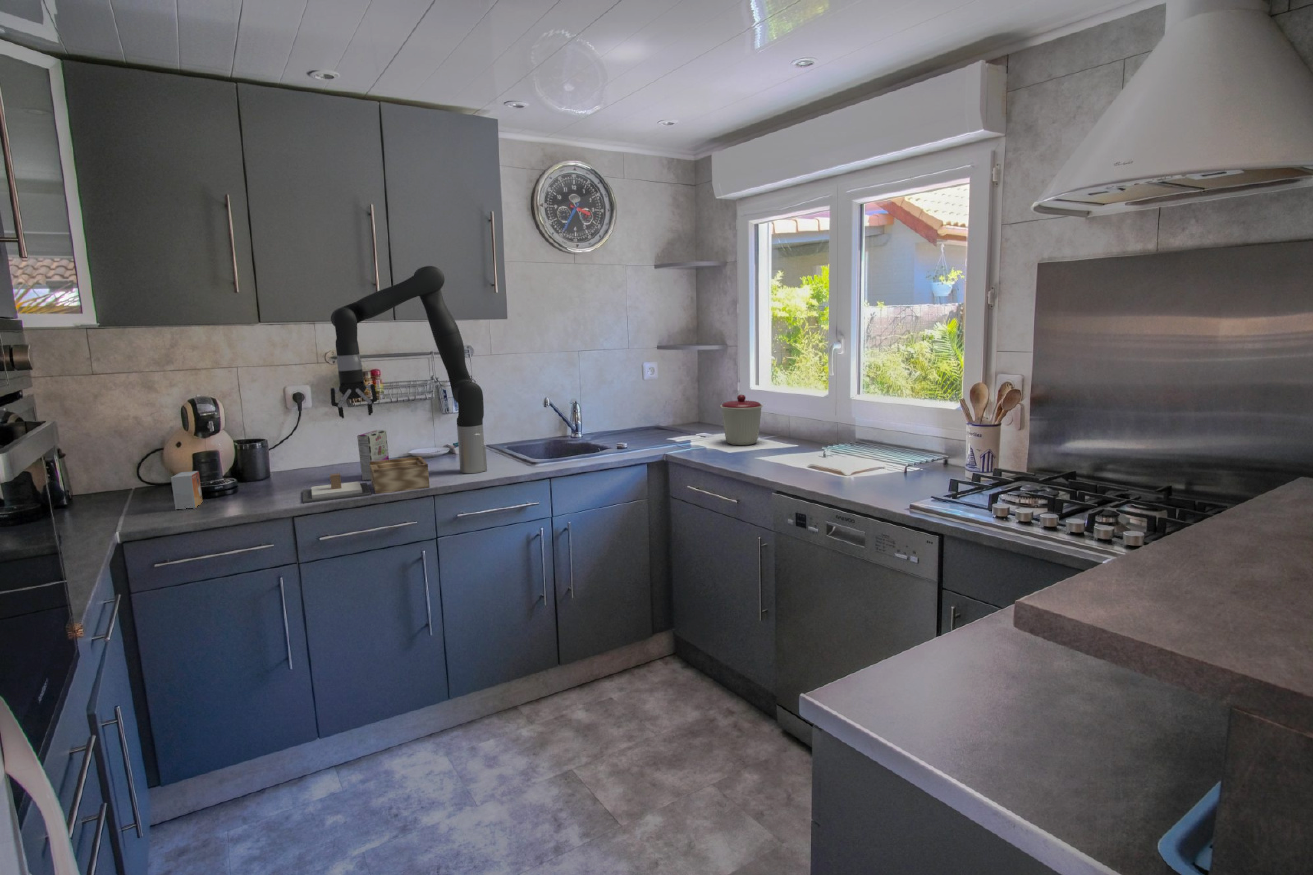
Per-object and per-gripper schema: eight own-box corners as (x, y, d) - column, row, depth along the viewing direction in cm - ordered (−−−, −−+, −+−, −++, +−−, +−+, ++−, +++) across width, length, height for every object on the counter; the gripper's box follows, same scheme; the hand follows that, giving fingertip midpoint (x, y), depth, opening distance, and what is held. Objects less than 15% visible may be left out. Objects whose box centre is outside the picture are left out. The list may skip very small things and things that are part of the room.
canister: (770, 445, 307) (770, 395, 304) (730, 448, 302) (730, 397, 298) (751, 438, 324) (751, 391, 320) (714, 441, 319) (713, 393, 315)
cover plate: (359, 484, 249) (357, 468, 249) (362, 492, 238) (360, 475, 237) (311, 490, 243) (309, 473, 242) (312, 498, 231) (310, 481, 230)
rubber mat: (366, 484, 253) (366, 482, 253) (371, 495, 237) (371, 493, 237) (302, 491, 244) (302, 489, 244) (302, 503, 228) (302, 501, 228)
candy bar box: (378, 473, 270) (374, 429, 267) (390, 473, 269) (387, 429, 266) (360, 480, 259) (356, 434, 257) (373, 480, 258) (369, 435, 256)
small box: (195, 508, 225) (191, 475, 223) (175, 510, 223) (170, 477, 222) (203, 502, 233) (199, 470, 231) (183, 504, 231) (179, 471, 229)
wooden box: (422, 478, 260) (420, 456, 258) (429, 487, 245) (427, 464, 244) (371, 484, 252) (369, 461, 251) (375, 493, 238) (373, 469, 237)
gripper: (371, 366, 250) (377, 412, 253) (326, 369, 244) (332, 417, 247) (373, 367, 243) (379, 415, 246) (327, 371, 237) (334, 420, 240)
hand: (356, 416), depth 247 cm, fingers open, 8 cm apart
